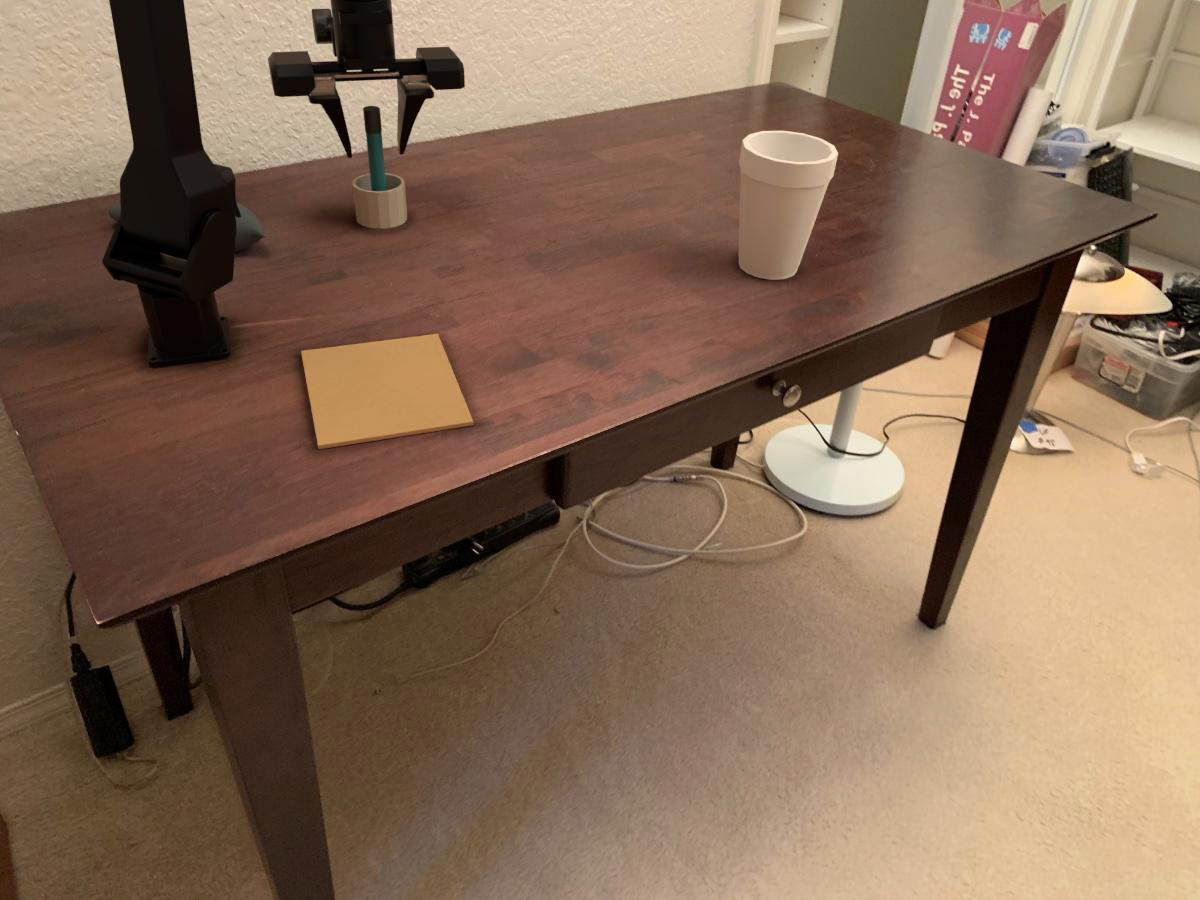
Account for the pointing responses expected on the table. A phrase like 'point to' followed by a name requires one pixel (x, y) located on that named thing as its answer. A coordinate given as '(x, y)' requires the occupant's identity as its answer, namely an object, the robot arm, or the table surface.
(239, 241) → the dark grey fabric pouch
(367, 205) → the pot
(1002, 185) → the table surface
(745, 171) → the foam cup
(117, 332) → the table surface
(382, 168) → the pen
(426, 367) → the desk mat
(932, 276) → the table surface
